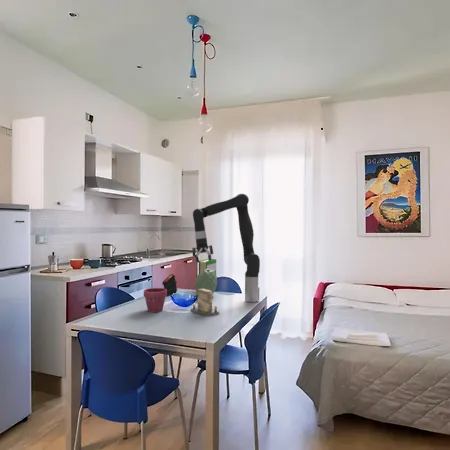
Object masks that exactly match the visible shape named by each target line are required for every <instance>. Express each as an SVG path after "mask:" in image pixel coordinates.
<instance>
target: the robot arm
mask: <svg viewBox="0 0 450 450" xmlns="http://www.w3.org/2000/svg"><path fill="white" fill-rule="evenodd" d="M249 201H250V200H249V197H248V195H247V194H245V193H239V194H237V195H236V196H234V197H232V198H230V199H228V200H223V201H220V202H219V201H218V202H215V203H212V204H209V205H207V206H205V207H201V208H195V209H194V210H193V212H192V218H193V223H194V233H195V234H194V237H195V238H194V239H195V244H196V245H195V246H196V247H192V248H191V251H192V257H195V262H196V263H197V264H199V261H200V259H199V257H200V256H199V255H200V254H202V253H203V254H204V253H206V254H207V259H209V261H211V259H212V255H213V254H214V249H213V245H208V238H207V232H206V226H205V221H204V220H205V219H204V218H207V217H210V216H214V215H217V214H219V213H222V212H224V211H227V210H231V209H235V208H236V211H237V216H238V218H237V219H238V226H239V227H238V228H239V233H240V239H241V244H242V249H243V261H244V263H245V265H246V271H245V273H244V302H247V303H257V302H259V301H260V286H259V273H260V266H261V264H260V263H261V260H260V256H259V255H258V254H256V253H255V250H254V237H255V235H254V226H253V223H252V220H251V217H250V214H249V208H248V204H249ZM208 249H209V250H208ZM196 251H197V252H196ZM258 300H259V301H258ZM256 301H257V302H256Z"/></svg>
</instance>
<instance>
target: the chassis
mask: <svg viewBox="0 0 450 450" xmlns="http://www.w3.org/2000/svg"><path fill="white" fill-rule="evenodd" d="M190 312H192V313H195V314H198V315H200V316H202V317H209V316H216V315H220V311H219V310H218V306H214V308H212V311H210V312H208V308H205V311H202V310H200V309H198V306H197V307H196V303H195V302H194V303H192V308H190Z"/></svg>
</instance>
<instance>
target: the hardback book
mask: <svg viewBox="0 0 450 450" xmlns="http://www.w3.org/2000/svg"><path fill="white" fill-rule="evenodd" d="M205 269H209V270H212V271H213V270H214V271H215V272H216V273H215V274H216V275H217V258H211V261H209V259H208V258H206V259H201V260H199V263H198V275H199V274H200V273H202V272H203V271H204V270H205Z"/></svg>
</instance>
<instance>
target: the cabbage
mask: <svg viewBox="0 0 450 450" xmlns="http://www.w3.org/2000/svg"><path fill="white" fill-rule="evenodd" d="M215 273H216V274H215ZM194 281H195V283H194V289H195V291H196V293H198V289H206V290H210V291H212V295H213V294H214V293H215V292H216V289H217V285H218V276H217V271H216V272H215V271H214V270H213V271H212V270H209V269H205V270H204V271H203V272H202V273H200V274H199V273H198V274H197V275H196V279H195V280H194Z"/></svg>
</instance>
